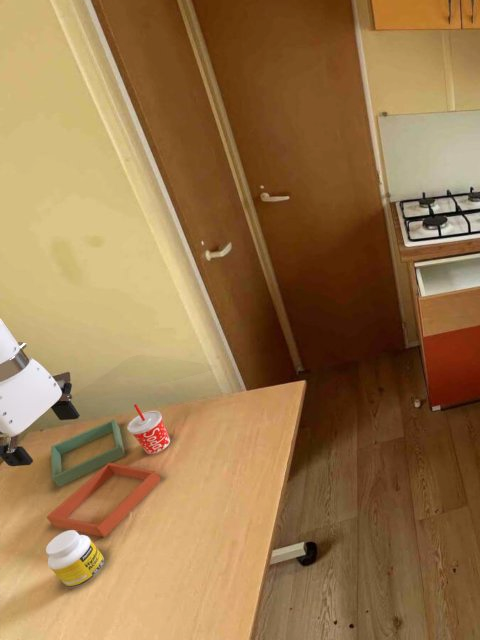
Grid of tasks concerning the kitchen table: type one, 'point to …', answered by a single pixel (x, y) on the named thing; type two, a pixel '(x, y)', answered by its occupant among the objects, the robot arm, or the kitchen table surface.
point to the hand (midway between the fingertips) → (47, 439)
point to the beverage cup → (149, 431)
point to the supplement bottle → (74, 558)
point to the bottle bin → (92, 463)
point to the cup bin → (93, 484)
